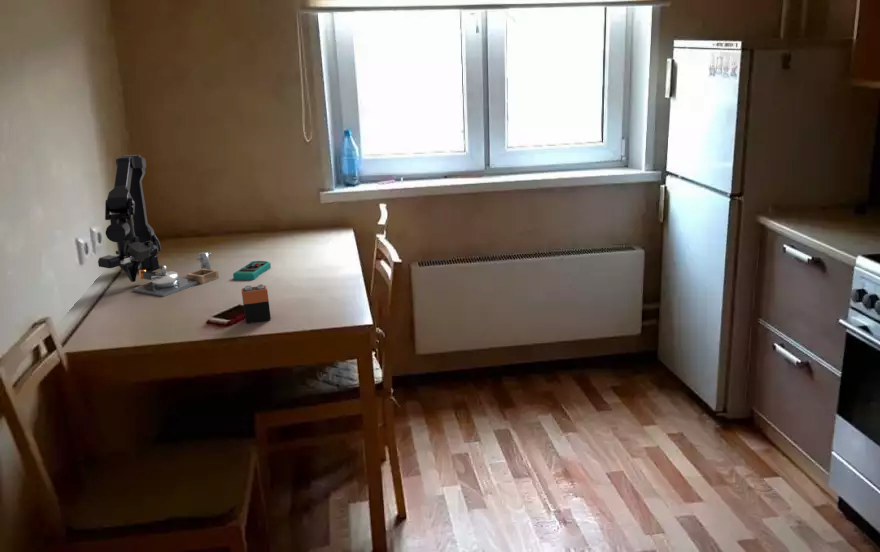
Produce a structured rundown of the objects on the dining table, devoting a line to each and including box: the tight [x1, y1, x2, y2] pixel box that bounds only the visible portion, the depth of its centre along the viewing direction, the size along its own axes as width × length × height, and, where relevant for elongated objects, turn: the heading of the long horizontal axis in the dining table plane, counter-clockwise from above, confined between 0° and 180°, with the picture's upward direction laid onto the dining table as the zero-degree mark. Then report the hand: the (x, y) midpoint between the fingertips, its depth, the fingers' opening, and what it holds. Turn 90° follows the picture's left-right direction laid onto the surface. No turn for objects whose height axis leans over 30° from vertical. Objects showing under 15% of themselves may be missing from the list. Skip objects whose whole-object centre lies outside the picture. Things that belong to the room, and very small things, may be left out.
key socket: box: [186, 268, 220, 285], centre depth 256 cm, size 7×7×2 cm
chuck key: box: [196, 251, 212, 270], centre depth 263 cm, size 3×6×7 cm, turn 149°
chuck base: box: [133, 277, 199, 297], centre depth 250 cm, size 14×14×1 cm
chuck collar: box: [138, 264, 179, 288], centre depth 251 cm, size 16×8×6 cm, turn 59°
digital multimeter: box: [232, 260, 272, 281], centre depth 261 cm, size 7×15×3 cm, turn 168°
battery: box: [241, 284, 272, 324], centre depth 215 cm, size 4×7×10 cm, turn 106°
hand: (133, 281), depth 250 cm, fingers closed
